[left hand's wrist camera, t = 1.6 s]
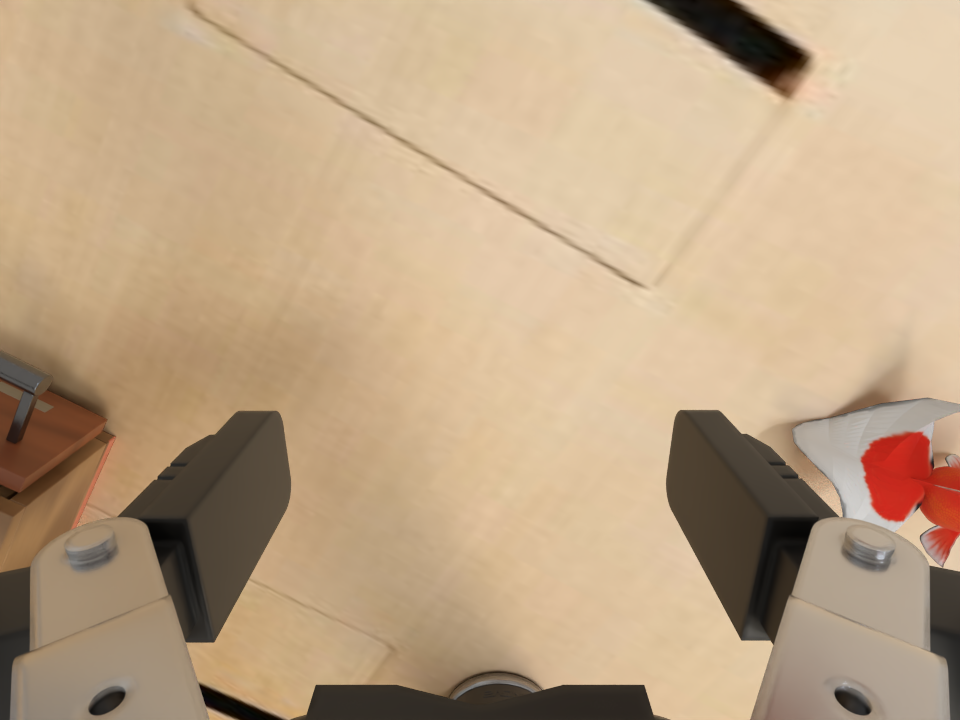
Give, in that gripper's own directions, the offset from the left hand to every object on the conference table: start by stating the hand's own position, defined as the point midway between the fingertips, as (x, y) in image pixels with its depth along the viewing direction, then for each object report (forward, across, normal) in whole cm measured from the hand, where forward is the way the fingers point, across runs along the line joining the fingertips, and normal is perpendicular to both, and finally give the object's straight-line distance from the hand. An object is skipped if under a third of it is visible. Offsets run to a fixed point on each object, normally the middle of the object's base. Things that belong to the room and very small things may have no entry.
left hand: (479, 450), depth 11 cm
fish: (+26, +29, -15) cm, 42 cm away
